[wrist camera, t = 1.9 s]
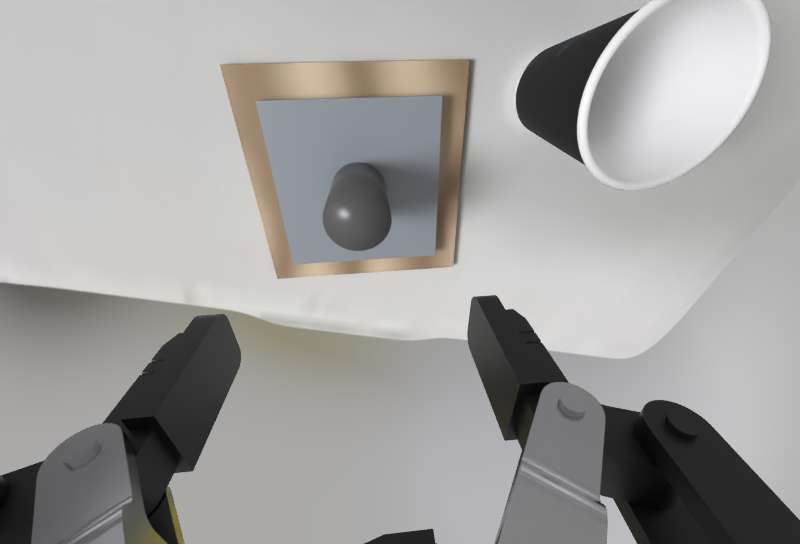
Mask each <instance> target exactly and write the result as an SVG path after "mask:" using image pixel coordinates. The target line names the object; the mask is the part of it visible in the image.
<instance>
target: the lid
mask: <svg viewBox="0 0 800 544" xmlns="http://www.w3.org/2000/svg"><path fill="white" fill-rule="evenodd" d="M256 106H257V110H258V114H259V119H260V123H261V127H262V131H263V136H264V140H265V144H266V149H267V153H268V157H269V162H270V166H271V170H272V175H273V179H274V183H275V188H276V192H277V196H278V201H279V205H280V209H281V214H282V218H283V222H284V227H285V231H286V235H287V240H288V244H289V248H290V253H291V257H292V261H293V265H295V264H310V263H326V262H341V261H357V260H372V259H387V258H403V257H418V256H434V255H435V248H436V226H437V203H438V180H439V158H440V135H441V112H442V96H441V95H421V96H385V97H349V98H313V99H277V100H258V101H256Z"/></svg>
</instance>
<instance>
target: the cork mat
mask: <svg viewBox="0 0 800 544" xmlns="http://www.w3.org/2000/svg"><path fill="white" fill-rule="evenodd" d="M469 61H470V60H424V61H373V62H323V63H272V64H221V65H220V67H221V70H222V74H223V78H224V81H225V85H226V89H227V93H228V96H229V100H230V104H231V107H232V111H233V115H234V119H235V122H236V126H237V130H238V133H239V137H240V141H241V145H242V148H243V152H244V156H245V159H246V163H247V167H248V171H249V174H250V178H251V182H252V185H253V189H254V193H255V197H256V200H257V204H258V208H259V211H260V215H261V219H262V223H263V226H264V230H265V234H266V238H267V241H268V245H269V249H270V252H271V256H272V260H273V264H274V267H275V271H276V275H277V278H278V279H279V278H294V277H309V276H324V275H339V274H353V273H368V272H383V271H398V270H413V269H427V268H442V267H453V261H454V249H455V236H456V224H457V211H458V199H459V186H460V174H461V161H462V149H463V136H464V124H465V111H466V99H467V86H468V74H469ZM421 95H441V96H442V112H441V135H440V158H439V180H438V203H437V226H436V248H435V255H434V256H418V257H403V258H387V259H372V260H357V261H341V262H326V263H310V264H295V265H293V261H292V257H291V253H290V248H289V244H288V240H287V235H286V231H285V227H284V222H283V218H282V214H281V209H280V205H279V201H278V196H277V192H276V188H275V183H274V179H273V175H272V170H271V166H270V162H269V157H268V153H267V149H266V144H265V140H264V136H263V131H262V127H261V123H260V119H259V114H258V110H257V106H256V101H258V100H277V99H313V98H349V97H385V96H421Z"/></svg>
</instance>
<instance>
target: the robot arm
mask: <svg viewBox="0 0 800 544" xmlns="http://www.w3.org/2000/svg"><path fill="white" fill-rule="evenodd" d="M540 341H541V340H540V339H539V338H538V336H537V335H536V333H534V330H533V329H532V327H531V326H530V324H529V323H528V321H527V320H526V319H525V318H524V317H523V316H522V315H520V314H519V313H518V312H516V311H515V310H514V309H509V310H505V308H504V307H503V305H502V303H501V302H500V300H499V298H498V297H497V296H496V295H492V296H478V297H473V298H472V300H471V307H470V316H469V324H468V344H469V348H470V351H471V354H472V356H473V359H474V362H475V364H476V367H477V369H478V372H479V374H480V377H481V380H482V382H483V385H484V388H485V390H486V393H487V395H488V398H489V401H490V403H491V406H492V409H493V411H494V414H495V416H496V419H497V421H498V424H499V427H500V429H501V432H502V435H503V437H504V440H516V439H518V441H519V444H520V446H521V448H522V452H521V456H520V459H519V462H518V466H517V469H516V473H515V476H514V480H513V483H512V487H511V490H510V493H509V497H508V500H507V504H506V507H505V510H504V514H503V517H502V521H501V524H500V527H499V530H498V533H497V537H496V540H495V544H606V543H607V523H608V520H607V510H606V507H605V505H604V504H602V503H601V502H600V495H602V496H606V497H610V498H613V499H614V501H615V503H616V505H617V507H618V509H619V510H620V512H621V514H622V516H623V518H624V520H625V521H626V523H627V525H628V527H629V529H630V531H631V533H632V535H633V537H634V538H635V540H636V542H637V544H800V520H799V519H798V518H797V517H796V516H795V515H794V514H793V513H792V511H790V509H789V508H788V507H787V506H786V505H785V504H784V503H783V502H782V501H781V500H780V499H779V498H778V497H777V495H776V494H775V493H774V492H773V491H772V490H771V489H770V488H769V487H768V486H767V485H766V484H765V483H764V482H763V480H762V479H761V478H760V477H759V476H758V475H757V474H756V473H755V472H754V471H753V470H752V469H751V468H750V467H749V465H748V464H747V463H746V462H745V461H744V460H743V459H742V458H741V457H740V456H739V455H738V454H737V453H736V452H735V450H734V449H733V448H732V447H731V446H730V445H729V444H728V443H727V442H726V441H725V440H724V439H723V438H722V437H721V436H720V434H719V433H718V432H717V431H716V430H715V429H714V428H713V427H712V426H711V425H710V424H709V423H708V422H707V421H706V420H705V419H703V418H702V417H701V416H699V415H698V414H697V413H695V412H693V411H691V410H690V409H688V408H686V407H684V406H682V405H679V404H677V403H673V402H670V401H664V400H654V401H651V402H648V403H647V404H646V405H645V406H644V408H643V409H642V411H641V412H636V411H630V410H625V409H620V408H615V407H609V406H605V405H602V404H600V403H599V402H598V401H597V399H596V398H595V397H594V396H592V395H591V394H590V393H589V392H587V391H586V390H584V389H582V388H580V387H579V386H576V385H574V384H571V383H569V382H568V381H567V379H566V378H565V376H564V375H563V373H562V372H561V370H560V369H559V367H558V366H557V364H556V363H555V362H554V360H553V359H552V357H551V355H550V354H549V352H548V351H547V349H546V348H545V346H544V345H543V343H541V342H540ZM240 362H241V352H240V348H239V345H238V343H237V340H236V338H235V335H234V333H233V330H232V328H231V325H230V322H229V320H228V318H227V317H226V315H224V314H216V315H202V316H196V317H195V318H194V319H193V320H192V322H191V323H190V324H189V326H188V327H187V328H186V330H185V331H184V333H179V334H177V335H176V336H175V337H174V338H172V339H171V340H170V341H168V342H167V343H166V344H164V345H163V346H162V347H161V349H160V350H159V351H158V353H157V354H156V355H155V356H154V358H153V359H152V362H151V363H149V364H148V365H147V367H146V368H145V369H144V370H143V372H142V375H140V376H139V377H138V378H137V380H136V381H135V382H134V383H133V385H132V386H131V387H130V389H129V390H128V391H127V392H126V394H125V395H124V396H123V398H122V399H121V400H120V402H119V403H118V404H117V406H116V407H115V408H114V409H113V411H112V412H111V413H110V414H109V416H108V417H107V418H106V420H105V421H104V422H103V423H102V424H98V425H94V426H91V427H89V428H86V429H84V430H82V431H80V432H78V433H76V434H74V435H73V436H71V437H70V438H68V439H67V440H65V441H64V442H63V443H61V444H60V445H59V446H58V447H57V448H55V450H53V451H52V452H51V453H50V454H49V456H48V457H47V458H46V459H45V460H44V461H42V462H39V463H36V464H33V465H31V466H28V467H25V468H22V469H19V470H16V471H13V472H10V473H7V474H4V475H2V476H1V475H0V544H185V543H184V539H183V535H182V532H181V527H180V523H179V519H178V515H177V511H176V508H175V504H174V500H173V496H172V492H171V489H170V488H169V487H168V484H169V482H170V480H171V478H172V476H173V474H174V473H179V472H189V471H193V470H194V467H195V465H196V463H197V461H198V459H199V456H200V454H201V452H202V449H203V447H204V445H205V443H206V441H207V438H208V436H209V434H210V432H211V429H212V427H213V425H214V422H215V421H216V418H217V416H218V414H219V411H220V409H221V407H222V405H223V403H224V400H225V398H226V396H227V393H228V391H229V389H230V387H231V385H232V383H233V380H234V378H235V376H236V374H237V371H238V369H239V366H240ZM365 544H436V543H435V539H434V532H433V529H427V530H419V531H410V532H402V533H394V534H385V535H382V536H380V537H378V538H376V539H373V540H371V541H369V542H367V543H365Z"/></svg>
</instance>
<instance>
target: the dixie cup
mask: <svg viewBox="0 0 800 544" xmlns="http://www.w3.org/2000/svg"><path fill="white" fill-rule="evenodd" d="M770 45H771V29H770V21H769V15H768V12H767V9H766V7H765V5H764V3H763V1H762V0H651V1H650V2H648V3H647V4H646V5H645V6H643V7H642V8H641V9H639V10H636V11H634V12H632V13H629V14H627V15H625V16H622V17H620V18H618V19H615V20H613V21H611V22H608V23H606V24H604V25H601V26H599V27H597V28H594V29H592V30H590V31H587V32H585V33H583V34H580V35H578V36H576V37H573V38H571V39H568V40H566V41H564V42H561V43H559V44H557V45H554V46H552V47H550V48H548V49H546V50H544V51H543V52H541V53H540V54H538V55H537V56H536V57H535V58H534V59H533V60H532V61H531V62H530V63H529V64H528V65H527V66H526V67H525V69H524V70H523V72H522V73H521V75H520V77H519V79H518V81H517V84H516V87H515V91H514V107H515V110H516V113H517V115H518V117H519V119H520V121H521V122H522V124H523V125H524V126H525V127H526V128H527V129H528V130H530V131H531V132H533V133H535V134H536V135H538V136H539V137H541V138H543V139H544V140H546V141H547V142H549V143H551V144H552V145H554V146H555V147H557V148H559V149H560V150H562V151H563V152H565V153H567V154H568V155H570V156H571V157H573V158H575V159H576V160H578V161H579V162H581V163H583V164H584V165H586V167H587V168H588V170H589V171H590V172H591V173H592V175H593V176H594V177H595V178H597V179H598V180H599V181H601V182H602V183H604V184H606V185H607V186H610V187H613V188H616V189H621V190H644V189H649V188H653V187H657V186H660V185H663V184H665V183H668V182H670V181H672V180H674V179H676V178H678V177H680V176H682V175H684V174H685V173H687V172H689V171H690V170H692V169H693V168H695V167H696V166H697V165H699V164H700V163H701V162H703V161H704V160H705V159H706V158H707V157H709V156H710V155H711V154H712V153H713V152H714V151H715V150H716V149H717V148H718V147H719V146H720V145H721V144H722V143H723V142H724V141H725V140H726V139H727V138H728V137H729V135H730V134H731V133H732V132H733V130H734V129H735V128H736V127H737V125H738V124H739V123H740V121H741V120H742V118H743V117H744V115H745V114H746V112H747V110H748V109H749V107H750V105H751V104H752V102H753V100H754V98H755V96H756V94H757V92H758V89H759V87H760V85H761V82H762V80H763V77H764V74H765V70H766V67H767V63H768V59H769V53H770Z"/></svg>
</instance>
